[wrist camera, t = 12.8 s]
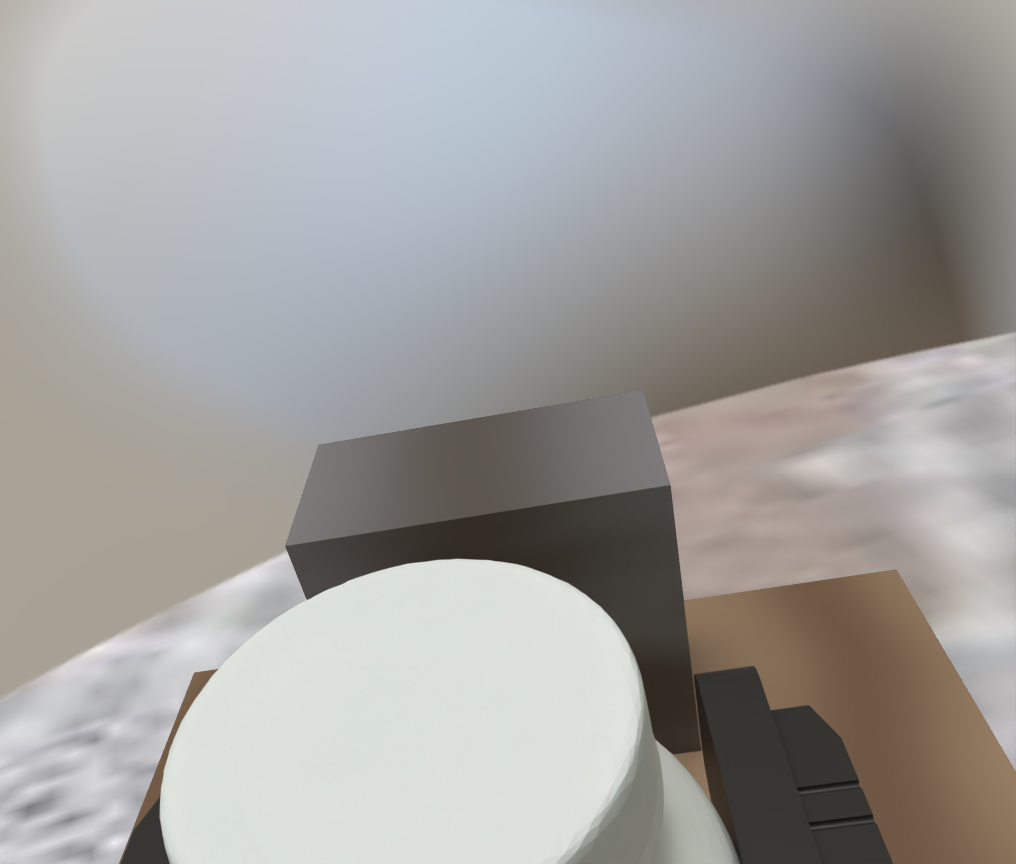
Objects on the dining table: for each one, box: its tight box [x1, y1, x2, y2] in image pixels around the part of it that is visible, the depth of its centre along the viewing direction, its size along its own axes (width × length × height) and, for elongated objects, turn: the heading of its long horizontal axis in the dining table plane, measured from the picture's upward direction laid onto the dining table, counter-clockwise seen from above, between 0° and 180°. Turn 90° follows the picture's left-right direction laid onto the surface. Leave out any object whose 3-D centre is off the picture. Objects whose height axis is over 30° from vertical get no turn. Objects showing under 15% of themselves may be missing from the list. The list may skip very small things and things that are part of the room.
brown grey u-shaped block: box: [119, 390, 1016, 864], centre depth 13 cm, size 16×14×8 cm
